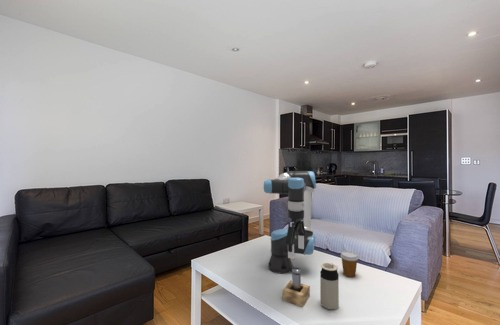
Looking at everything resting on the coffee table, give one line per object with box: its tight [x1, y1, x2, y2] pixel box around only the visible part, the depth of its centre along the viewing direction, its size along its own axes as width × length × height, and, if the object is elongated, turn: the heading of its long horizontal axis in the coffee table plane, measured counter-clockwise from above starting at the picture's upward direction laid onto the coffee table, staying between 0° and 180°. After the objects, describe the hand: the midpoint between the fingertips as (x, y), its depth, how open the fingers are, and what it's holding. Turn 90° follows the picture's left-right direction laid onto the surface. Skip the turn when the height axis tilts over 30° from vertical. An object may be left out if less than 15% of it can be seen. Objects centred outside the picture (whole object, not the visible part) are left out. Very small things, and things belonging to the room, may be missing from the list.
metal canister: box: [291, 267, 302, 292], centre depth 112 cm, size 4×4×14 cm
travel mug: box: [319, 262, 340, 310], centre depth 107 cm, size 8×8×18 cm
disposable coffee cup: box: [340, 251, 359, 278], centre depth 135 cm, size 10×10×12 cm
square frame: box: [282, 280, 311, 308], centre depth 112 cm, size 10×10×5 cm
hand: (296, 253), depth 112 cm, fingers open, 13 cm apart
